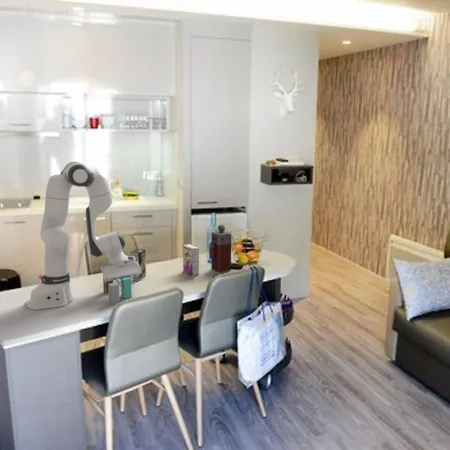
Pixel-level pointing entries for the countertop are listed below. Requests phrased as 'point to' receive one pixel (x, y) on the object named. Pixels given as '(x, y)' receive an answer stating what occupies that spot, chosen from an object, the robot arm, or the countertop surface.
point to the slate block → (113, 293)
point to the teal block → (126, 287)
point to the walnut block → (106, 286)
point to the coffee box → (140, 262)
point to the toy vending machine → (220, 250)
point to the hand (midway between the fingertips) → (126, 285)
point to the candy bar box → (191, 259)
